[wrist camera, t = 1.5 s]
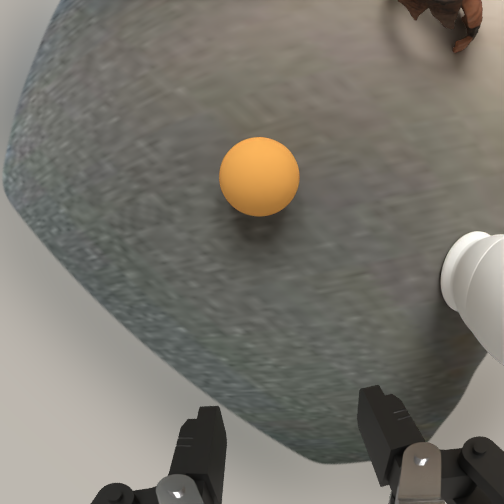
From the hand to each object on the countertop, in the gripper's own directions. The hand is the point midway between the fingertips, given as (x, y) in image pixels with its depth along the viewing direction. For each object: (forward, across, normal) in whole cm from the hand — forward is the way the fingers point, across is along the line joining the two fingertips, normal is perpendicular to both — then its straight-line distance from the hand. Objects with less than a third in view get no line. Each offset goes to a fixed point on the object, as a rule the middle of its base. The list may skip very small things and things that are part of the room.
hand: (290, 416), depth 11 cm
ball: (+13, 0, -9) cm, 16 cm away
